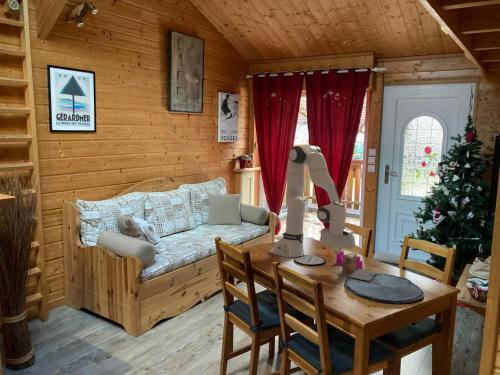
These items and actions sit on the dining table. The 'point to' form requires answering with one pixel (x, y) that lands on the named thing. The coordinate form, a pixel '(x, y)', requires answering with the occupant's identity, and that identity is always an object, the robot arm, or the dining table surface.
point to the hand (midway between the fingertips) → (336, 253)
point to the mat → (358, 274)
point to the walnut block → (349, 262)
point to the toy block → (340, 260)
